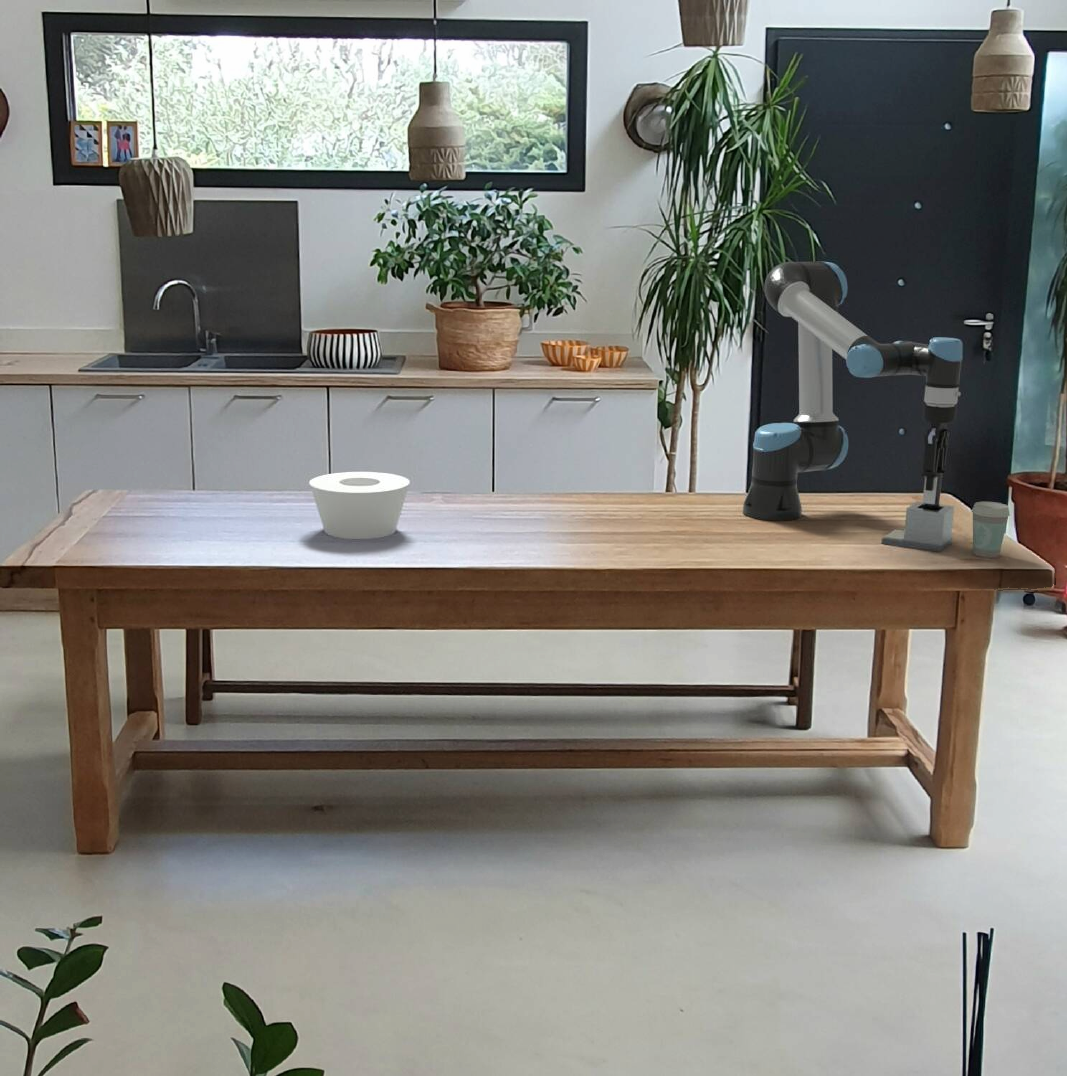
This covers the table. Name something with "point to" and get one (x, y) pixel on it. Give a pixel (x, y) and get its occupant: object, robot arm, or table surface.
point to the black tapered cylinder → (937, 498)
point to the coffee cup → (989, 528)
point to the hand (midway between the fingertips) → (931, 501)
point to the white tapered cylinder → (359, 503)
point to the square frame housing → (924, 529)
